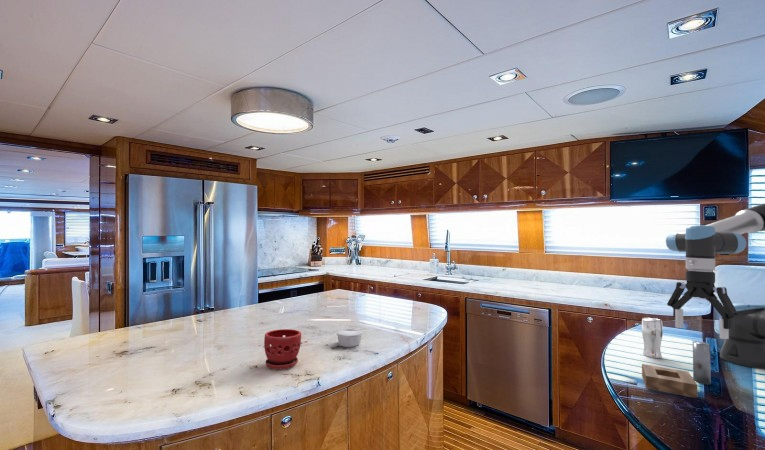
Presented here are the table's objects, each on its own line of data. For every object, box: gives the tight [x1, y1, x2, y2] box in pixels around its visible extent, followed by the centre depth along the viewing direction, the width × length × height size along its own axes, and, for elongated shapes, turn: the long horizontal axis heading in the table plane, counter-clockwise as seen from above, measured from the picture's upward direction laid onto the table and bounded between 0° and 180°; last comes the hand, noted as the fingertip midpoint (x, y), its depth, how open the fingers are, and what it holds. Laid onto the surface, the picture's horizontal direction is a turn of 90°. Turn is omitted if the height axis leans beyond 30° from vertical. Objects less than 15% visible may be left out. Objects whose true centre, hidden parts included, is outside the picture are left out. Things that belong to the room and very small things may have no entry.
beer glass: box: [641, 317, 664, 359], centre depth 143 cm, size 7×7×15 cm
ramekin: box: [336, 328, 363, 348], centre depth 154 cm, size 11×11×5 cm
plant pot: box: [263, 328, 302, 371], centre depth 128 cm, size 13×13×12 cm
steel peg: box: [692, 340, 712, 386], centre depth 118 cm, size 4×4×13 cm
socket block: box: [641, 363, 698, 399], centre depth 114 cm, size 12×12×4 cm
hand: (700, 332), depth 118 cm, fingers open, 13 cm apart
